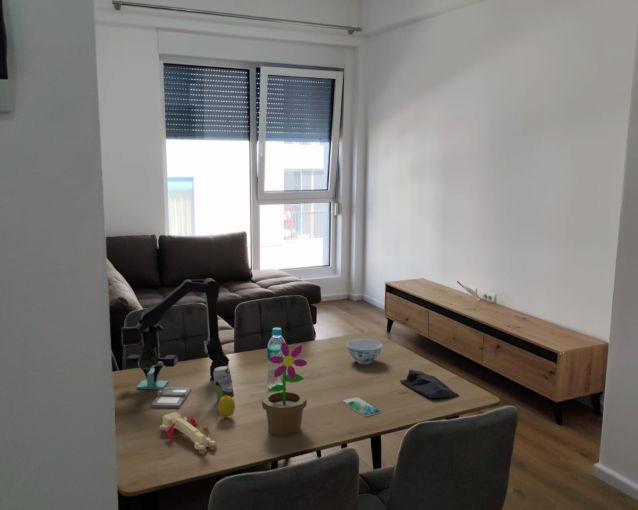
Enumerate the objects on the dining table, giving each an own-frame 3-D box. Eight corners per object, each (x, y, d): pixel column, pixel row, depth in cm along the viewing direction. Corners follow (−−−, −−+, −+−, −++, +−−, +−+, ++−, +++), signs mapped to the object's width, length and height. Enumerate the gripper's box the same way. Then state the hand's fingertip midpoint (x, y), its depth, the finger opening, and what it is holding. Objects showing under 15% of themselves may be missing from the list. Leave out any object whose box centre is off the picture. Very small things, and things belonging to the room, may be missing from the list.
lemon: (227, 423, 187) (227, 399, 186) (214, 419, 190) (214, 396, 189) (238, 416, 192) (238, 394, 191) (225, 413, 195) (225, 390, 194)
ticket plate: (191, 390, 215) (191, 383, 214) (179, 408, 199) (178, 401, 198) (164, 389, 215) (164, 383, 215) (150, 407, 199) (150, 400, 199)
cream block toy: (222, 450, 172) (179, 418, 190) (223, 424, 170) (179, 393, 188) (193, 462, 165) (151, 427, 183) (194, 434, 164) (151, 402, 181)
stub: (168, 382, 222) (167, 368, 221) (163, 389, 215) (162, 374, 214) (142, 382, 222) (142, 367, 221) (136, 388, 216) (136, 374, 215)
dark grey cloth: (425, 403, 204) (426, 390, 204) (397, 381, 225) (397, 370, 224) (462, 398, 209) (463, 385, 209) (431, 377, 230) (432, 365, 229)
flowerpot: (270, 442, 174) (269, 347, 170) (256, 423, 187) (254, 334, 183) (313, 434, 180) (313, 341, 175) (297, 416, 193) (296, 329, 188)
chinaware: (383, 367, 239) (383, 350, 238) (347, 367, 239) (347, 349, 238) (380, 355, 254) (380, 339, 253) (346, 355, 254) (346, 338, 253)
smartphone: (357, 396, 208) (381, 411, 196) (357, 398, 209) (381, 414, 196) (340, 399, 205) (364, 415, 192) (340, 402, 205) (364, 418, 192)
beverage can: (230, 403, 202) (229, 371, 201) (211, 402, 204) (210, 369, 202) (236, 397, 208) (236, 365, 207) (217, 395, 210) (216, 364, 208)
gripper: (118, 349, 209) (120, 389, 211) (168, 349, 208) (170, 390, 210) (129, 339, 220) (131, 378, 222) (177, 340, 219) (179, 379, 221)
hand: (152, 382), depth 219 cm, fingers closed on stub, 2 cm apart
